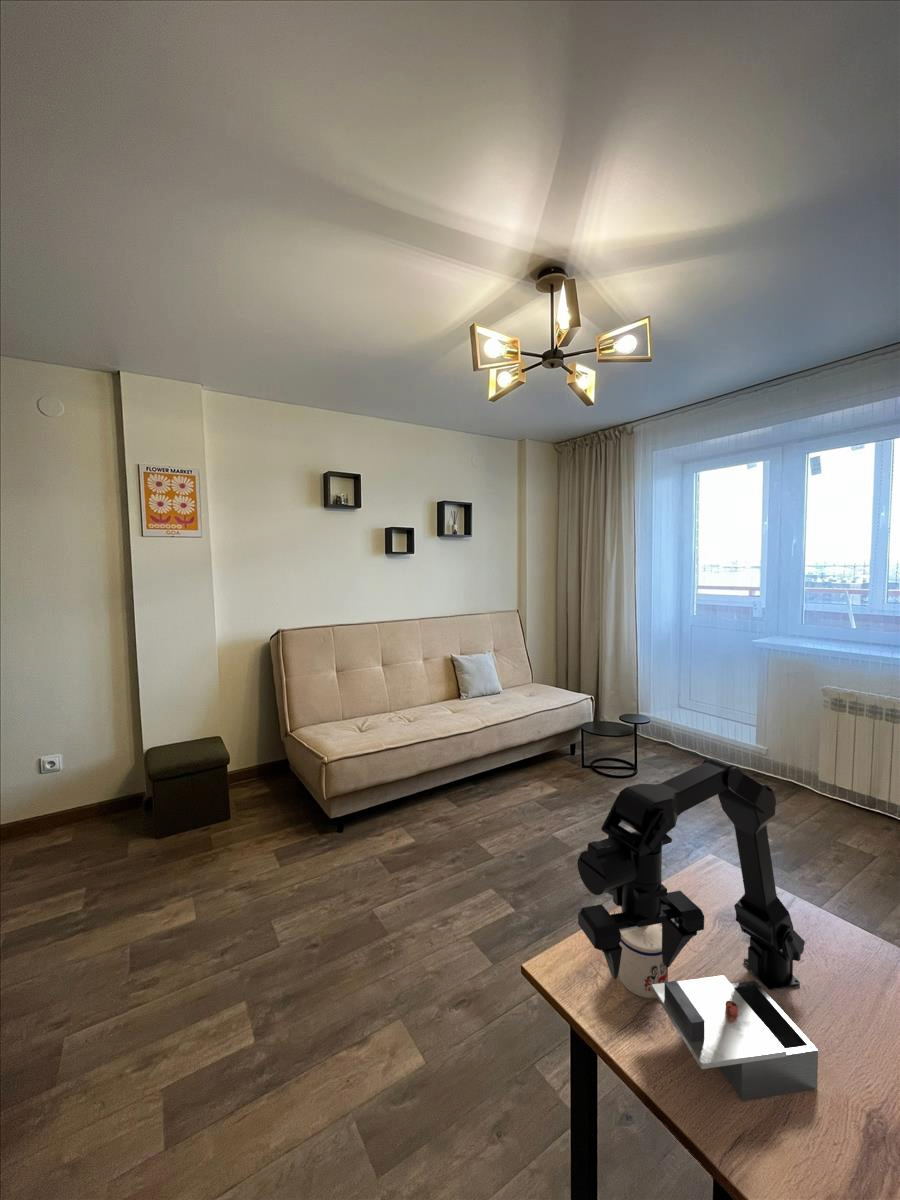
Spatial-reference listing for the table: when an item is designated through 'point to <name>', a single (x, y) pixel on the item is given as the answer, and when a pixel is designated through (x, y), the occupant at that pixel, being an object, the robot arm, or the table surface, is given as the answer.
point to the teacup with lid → (642, 960)
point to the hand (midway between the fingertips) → (640, 970)
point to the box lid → (716, 1022)
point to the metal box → (778, 1072)
